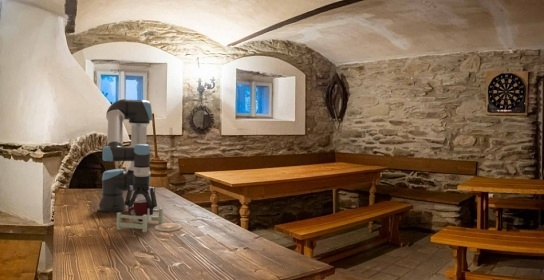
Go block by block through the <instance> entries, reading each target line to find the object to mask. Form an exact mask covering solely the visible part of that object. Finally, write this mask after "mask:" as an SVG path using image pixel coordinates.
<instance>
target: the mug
mask: <svg viewBox="0 0 544 280" xmlns="http://www.w3.org/2000/svg"><path fill="white" fill-rule="evenodd" d="M133 206H134V207H131V208H130V209H129V212H128V215H131V210H132V209H134V216H135V215H136V216H143V215H147V216H148V208H149V206H148V204H147V201H146V199H138V200H135V201H134V202H133ZM132 216H133V215H132ZM138 221H139V223H143V219H138Z"/></svg>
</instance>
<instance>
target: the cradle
mask: <svg viewBox="0 0 544 280" xmlns="http://www.w3.org/2000/svg"><path fill="white" fill-rule="evenodd" d="M153 213H158V216H156V215H155V216H154V215H152V217H151V221H153V222H155V221H156V222H158V224H163V222H164V221H163V220H164V218H163V217H164V207H159V208H158V209H157V208H155V209H154V208H153ZM130 218H132V219H133V220H134V223H133V222H126V221H125V222H122V219H130ZM138 219H143V222H142V223H140V222H139V221H138ZM138 222H139V223H138ZM122 228H128V229H130V228H131V229H141V230H142V231H141V232H142V233H147V232H148V222H147V215H143V216H136V215H135V214H134V216H132V215H129V214H122V212H116V231H121V230H122Z"/></svg>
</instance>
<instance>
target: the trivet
mask: <svg viewBox="0 0 544 280" xmlns="http://www.w3.org/2000/svg"><path fill="white" fill-rule="evenodd" d="M154 229H155V230H156V231H159V232H175V231H179V230H182V229H183V225H182V224H180V223H176V222H166V223H165V222H164V223H163V224H159V223H158V224H156V225H155V226H154Z"/></svg>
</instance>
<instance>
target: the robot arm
mask: <svg viewBox="0 0 544 280" xmlns="http://www.w3.org/2000/svg"><path fill="white" fill-rule="evenodd" d="M152 109H153V108H152V104H151V102H150V101H149V100H146V99H145V100H144V99H126V98H125V99H124V98H122V99H118V100H116V101H114V102H113V103H112V104H111V105H109V107H108V109H107V111H106V112H105V113H106V120H107V135H106V136H107V137H106V138H107V140H106V145H104V146H103V147H102V160H103V161H104V162H130V164H129V165H130V166H128V167H127V171H125V170H124V169H123V168H115V169H108V170H105V171H104V172H103V173H102V177H101V181H102V185H101V197H100V201H99V204H98V211H100V212H106V213H108V212H109V213H111V212H122V211H125V210H126V209H128V213H129V209H130V208H131V207H134V204H133V202H134V201H136V199H137V197H138V195H143V197H144V200H146V201H147V204H148V206H149V208H148V216H147V223H150V222H151V221H152V220H151V217H152V216H153V214H154V212H153V209H154V208H155V209H156V208H157V207H158V203H157V198H156V197H157V196H156V187H154V186H153V187H152V186H150V183H151V171H150V168H151V167H150V166H151V165H150V164H151V162H150V161H151V146H150V144H147V131H148V129H147V128H148V126H149V124H150V123H151V122H150V121H153V111H152ZM124 120H128V123H129V125H130V126H131V128H130V131H131V132H130V133H131V135H130V137H131V138H130V139H131V141H130V142H131V143H130V146H123V138H124V137H123V134H124V132H123V131H124V130H123V128H124V127H123V124H124V123H123V122H124ZM124 192H127V193H126V197H124ZM127 207H128V208H127ZM131 215H133V216H135V211H134V209H132V210H131ZM133 220H134V219H132V218H129V221H133Z"/></svg>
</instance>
